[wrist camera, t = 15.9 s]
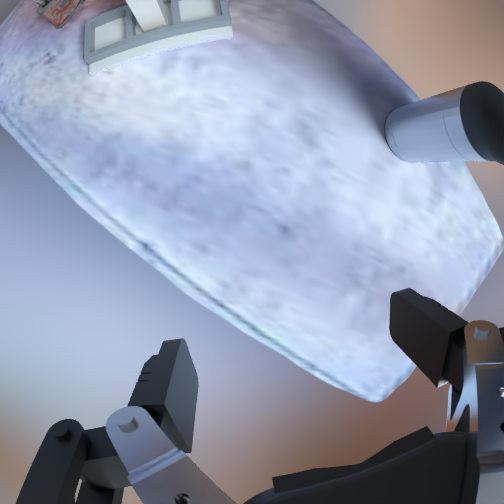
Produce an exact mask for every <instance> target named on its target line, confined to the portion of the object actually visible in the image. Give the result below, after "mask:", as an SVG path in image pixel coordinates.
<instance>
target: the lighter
mask: <svg viewBox="0 0 504 504" xmlns="http://www.w3.org/2000/svg"><path fill="white" fill-rule="evenodd" d="M84 1H85V0H36V3H38V4H39V5H40V6H39V7H38V9H37V13H38V14H40V15H43V16H44V17H45V18H46V19H48V20H49V21H50V22H51V23H53V24H54V26H55V27H56V28H58V29H60V28H62V27H64V26H65V25H66V24H67V23H68V22H69V20H70V19H71V18H72V17H73V16H74V15H75V14H76V12H77V11H78V10H79V9H80V7H81V6H82V4H83V3H84Z"/></svg>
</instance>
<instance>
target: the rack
mask: <svg viewBox="0 0 504 504" xmlns="http://www.w3.org/2000/svg"><path fill="white" fill-rule="evenodd" d="M162 1H163V3H164V6H165V9H166V18H167V26H166V27H163V28H159V29H155V30H152V31H148V32H145V33H144V31H143V29H142V28H141V26H140V24H139V23H138V21H137V19H136V17H135V16H134V14H133V12H132V11H131V9H130V7H129V5H128V4H127V5H124V6H122V7H119V8H116V9H113V10H111V11H108V12H106V13H103V14H101V15H98V16H96V17H94V18H91V19H89V20H87V21H85V36H84V61H85V62H86V63H88V64H89V72H90V74H91V75H92V76H94V75H96V74H99V73H101V72H104V71H106V70H109V69H112V68H114V67H117V66H120V65H123V64H126V63H129V62H132V61H135V60H138V59H141V58H144V57H147V56H151V55H154V54H158V53H161V52H165V51H169V50H173V49H177V48H181V47H186V46H190V45H195V44H200V43H205V42H211V41H217V40H223V39H230V38H233V33H232V28H231V16H230V12H229V7H228V3H227V0H162Z"/></svg>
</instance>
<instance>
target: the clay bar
mask: <svg viewBox="0 0 504 504" xmlns="http://www.w3.org/2000/svg"><path fill="white" fill-rule="evenodd" d="M126 2H127V4H128V5H129V7H130V9H131V11H132V12H133V14H134V16H135V17H136V19H137V21H138V23H139V24H140V26H141V28H142V29H143V31H144V33H145V32H148V31H152V30H155V29H159V28H163V27H166V26H167V18H166V9H165V6H164V3H163V1H162V0H126Z"/></svg>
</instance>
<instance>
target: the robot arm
mask: <svg viewBox="0 0 504 504" xmlns="http://www.w3.org/2000/svg"><path fill="white" fill-rule="evenodd" d="M385 135H386V139H387V142H388V144H389V146H390V148H391V150H392V151H393V153H394V154H395V155H396V156H397V157H399V158H400V159H401V160H403V161H406V162H410V163H411V162H440V161H497V162H498V163H500V164H503V165H504V93H503V92H502V91H501V90H500V89H499V88H498V87H496V86H495V85H493V84H491V83H489V82H483V81H481V82H476V83H473V84H469V85H466V86H463V87H460V88H456V89H453V90H450V91H447V92H444V93H441V94H438V95H434V96H431V97H429V98H426V99H423V100H419V101H417V102H414V103H411V104H408V105H405V106H402V107H400V108H397V109H395V110H393V111H392V112H391V113H390V114H389V115H388V117H387V119H386V123H385ZM389 329H390V334H391V337H392V339H393V341H394V342H395V343H396V344H397V345H398V346H399V347H400V348H401V350H402V351H403V352H404V353H405V354H406V355H407V356H408V357H409V358H410V359H411V360H412V361H413V362H414V363H415V364H416V365H417V366H418V367H419V369H420V370H421V371H422V372H423V373H424V374H425V375H426V376H427V377H428V378H429V379H430V380H431V382H432V383H433V384H434V385H435V386H436V387H437V388H438V387H440V386H442V385H444V384H446V383H448V382H449V383H450V384H451V386H450V389H449V398H448V413H447V424H446V431H445V432H441V433H435V434H433V433H432V432H431V431H430V429H429V428H428V427H427V426H426V427H424V428H422V429H420V430H418V431H416V432H414V433H411V434H409V435H407V436H405V437H403V438H401V439H399V440H396V441H394V442H393V443H391V444H390V445H388V446H387V447H385V448H384V449H382V450H381V451H379V452H378V453H376V454H375V455H373V456H372V457H370V458H369V459H367V460H366V461H364V462H362V463H360V464H356V465H348V466H339V467H329V468H314V469H310V470H306V471H302V472H297V473H293V474H288V475H282V476H277V477H273V478H272V480H273V486H274V487H273V488H271V489H268V490H266V491H264V492H262V493H259V494H257V495H256V496H254V497H252V498H251V499H249V500H247V501H246V502H245V503H243V504H504V327H503V328H498V327H497V326H496V325H495V324H493V323H491V322H489V321H484V320H476V321H472V322H470V323H468V322H467V321H465V320H464V319H462V318H461V317H459V316H458V315H456V314H455V313H453V312H452V311H450V310H448V309H447V308H446V307H444V306H441V304H440V303H438V302H437V301H435V300H434V299H431V298H428V297H424V296H422V295H420V294H419V293H417V292H416V291H414V290H413V289H411V288H406V289H403V290H400V291H397V292H393V293H392V295H391V298H390V325H389ZM197 394H198V377H197V373H196V370H195V367H194V364H193V362H192V359H191V356H190V353H189V350H188V347H187V344H186V342H185V340H184V339H183V338H182V339H175V340H167V341H163V343H162V346H161V349H160V351H159V354H158V355H153V356H152V357H151V358H150V359H149V360H148V361H147V362H146V363H145V364H144V366H143V368H142V371H141V375H140V376H139V378H138V382H137V383H136V386H135V388H134V391H133V393H132V396H131V398H130V401H129V403H128V406H127V407H124V408H121V409H119V410H117V411H115V412H114V413H113V414H112V415H111V416H110V417H109V418H108V420H107V422H106V426H104V427H99V428H94V429H89V430H84V429H83V427H82V426H81V424H80V423H79V422H78V421H76V420H73V419H65V420H61V421H59V422H57V423H55V424H54V425H53V426H52V427H51V428H50V429H49V430H48V432H47V434H46V436H45V438H44V440H43V442H42V444H41V446H40V448H39V450H38V452H37V454H36V457H35V459H34V461H33V463H32V466H31V467H30V470H29V472H28V474H27V477H26V479H25V482H24V484H23V486H22V489H21V491H20V494H19V496H18V499H17V502H16V504H121V503H122V497H123V491H124V487H128V486H132V487H133V488H134V490H135V492H136V493H137V495H138V496H139V498H140V499H141V501H142V503H143V504H237V503H236V502H235V501H234V500H232V499H231V498H230V497H229V496H228V495H227V494H225V492H223V491H222V490H221V489H220V488H219V487H218V486H217V485H216V484H215V483H214V482H213V481H212V480H211V479H210V478H209V477H208V476H207V475H205V474H204V473H203V472H202V471H201V470H200V468H199V467H197V465H196V464H195V463H194V462H193V461H192V460H191V459H190V458H189V457H188V456H187V455H186V454H185V453H191V450H192V440H193V430H194V420H195V411H196V402H197ZM79 479H81V480H82V483H81V486H80V490H79V493H78V497H77V501H76V502H75V492H76V488H77V485H78V482H79Z"/></svg>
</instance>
